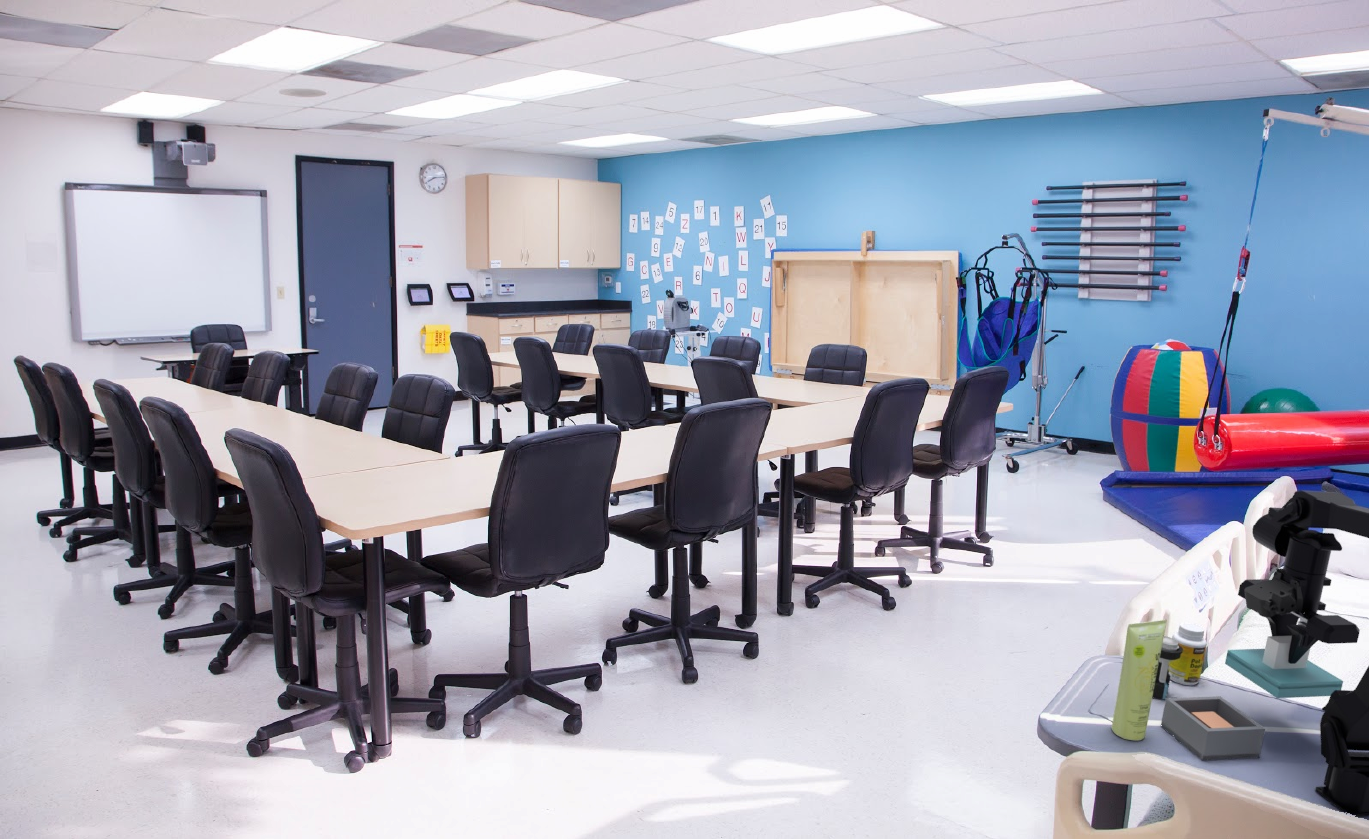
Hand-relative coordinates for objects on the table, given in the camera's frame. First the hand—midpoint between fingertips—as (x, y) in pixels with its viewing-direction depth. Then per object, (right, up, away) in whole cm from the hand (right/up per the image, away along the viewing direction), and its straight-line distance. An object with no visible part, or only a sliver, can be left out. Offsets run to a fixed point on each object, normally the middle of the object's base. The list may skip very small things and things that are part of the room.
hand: (1285, 659), depth 158 cm
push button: (-14, -9, +14) cm, 22 cm away
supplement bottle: (-7, -9, +20) cm, 23 cm away
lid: (0, -3, +1) cm, 4 cm away
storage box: (-13, -13, -1) cm, 18 cm away
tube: (-26, -12, 0) cm, 28 cm away
